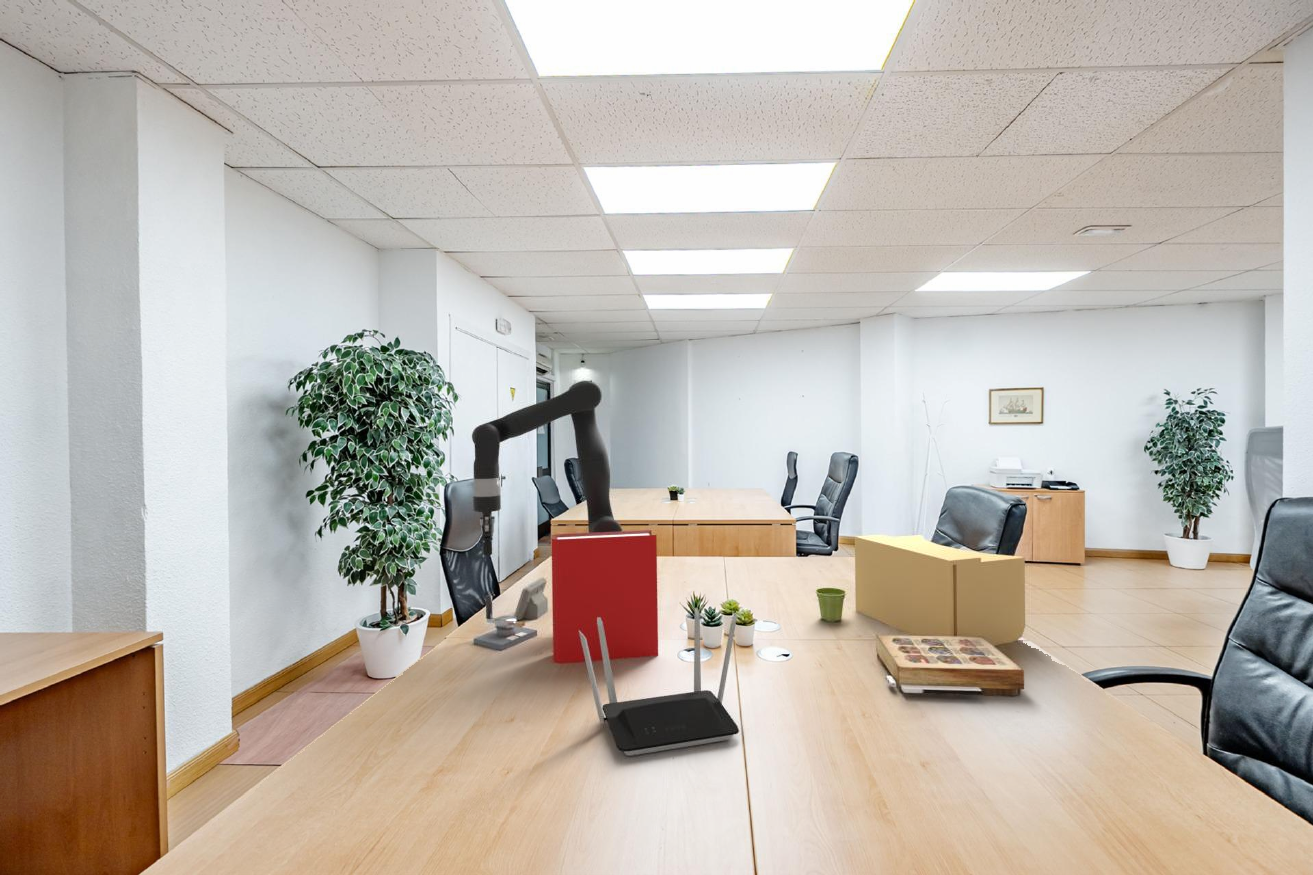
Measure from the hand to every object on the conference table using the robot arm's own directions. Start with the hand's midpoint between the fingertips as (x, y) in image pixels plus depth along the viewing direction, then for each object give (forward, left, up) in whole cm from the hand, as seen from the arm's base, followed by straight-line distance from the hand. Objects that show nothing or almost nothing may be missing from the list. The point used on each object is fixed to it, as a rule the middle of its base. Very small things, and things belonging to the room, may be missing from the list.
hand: (488, 554), depth 171 cm
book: (-35, -8, -25) cm, 44 cm away
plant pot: (-79, -67, -25) cm, 107 cm away
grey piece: (-3, -3, -21) cm, 21 cm away
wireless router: (-68, +17, -25) cm, 74 cm away
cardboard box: (-107, -77, -25) cm, 134 cm away
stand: (-3, -3, -25) cm, 25 cm away
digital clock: (+8, -25, -25) cm, 36 cm away
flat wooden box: (-114, -35, -26) cm, 122 cm away
